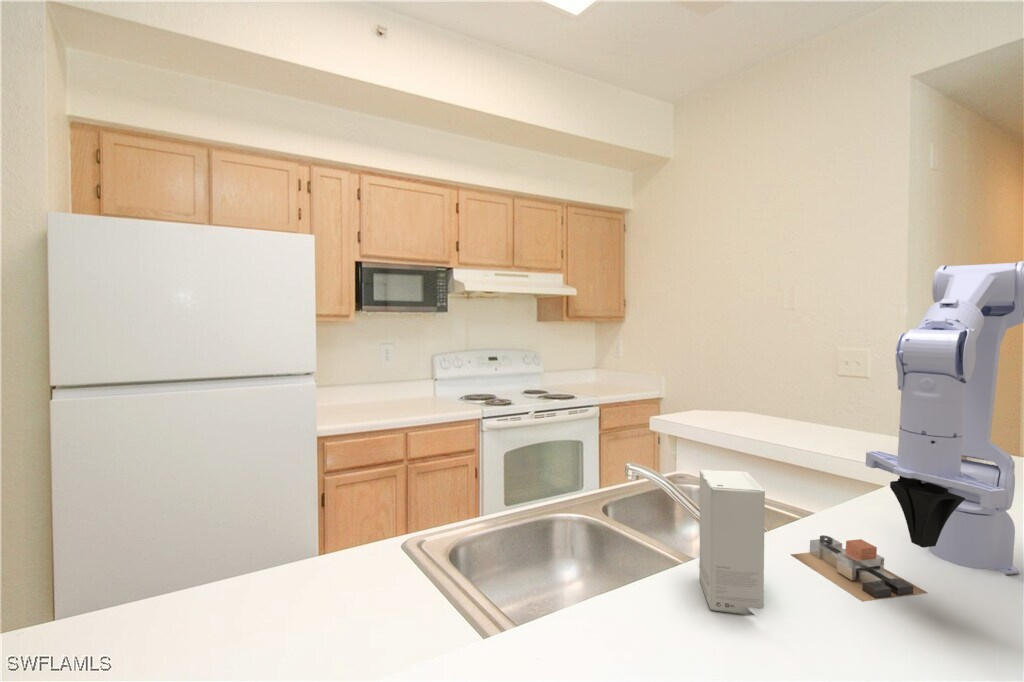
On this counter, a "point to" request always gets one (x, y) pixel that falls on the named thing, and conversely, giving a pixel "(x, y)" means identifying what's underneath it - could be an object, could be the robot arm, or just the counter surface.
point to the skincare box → (731, 541)
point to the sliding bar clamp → (861, 570)
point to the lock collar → (858, 558)
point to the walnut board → (844, 582)
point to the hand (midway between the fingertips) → (923, 544)
